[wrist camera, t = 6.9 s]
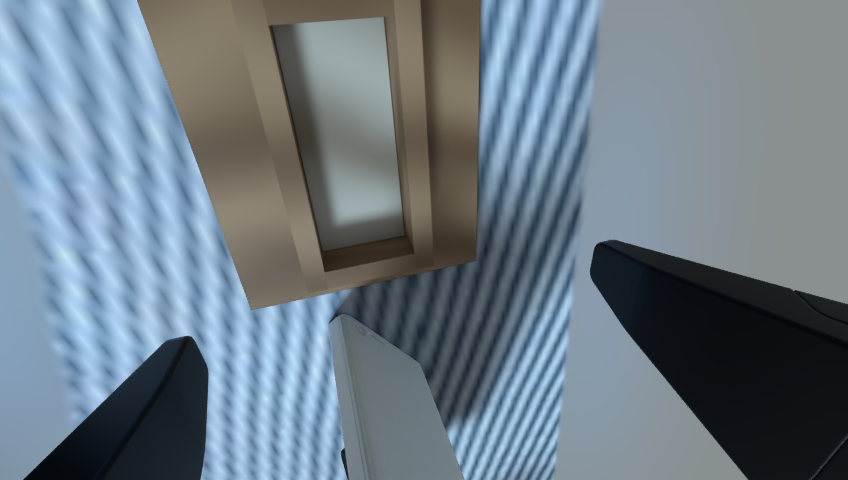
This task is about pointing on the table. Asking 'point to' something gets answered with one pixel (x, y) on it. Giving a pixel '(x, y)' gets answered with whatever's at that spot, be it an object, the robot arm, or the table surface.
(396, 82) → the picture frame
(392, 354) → the external hard drive
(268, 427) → the table surface
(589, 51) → the table surface
